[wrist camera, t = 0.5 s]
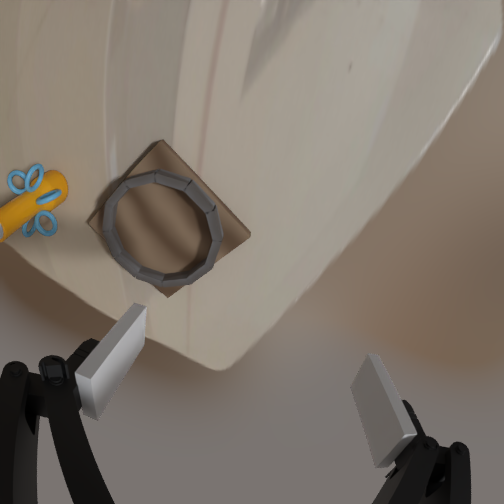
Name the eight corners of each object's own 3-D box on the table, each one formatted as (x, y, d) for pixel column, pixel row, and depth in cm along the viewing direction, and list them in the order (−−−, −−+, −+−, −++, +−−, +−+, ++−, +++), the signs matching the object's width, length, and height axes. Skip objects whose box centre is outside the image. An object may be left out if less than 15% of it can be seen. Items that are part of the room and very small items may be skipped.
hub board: (163, 139, 36) (154, 144, 33) (250, 232, 43) (249, 244, 40) (92, 219, 42) (82, 229, 39) (170, 292, 49) (164, 305, 46)
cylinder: (39, 143, 35) (-26, 173, 22) (86, 162, 37) (22, 201, 25) (31, 206, 41) (-23, 249, 28) (73, 228, 43) (23, 279, 30)
